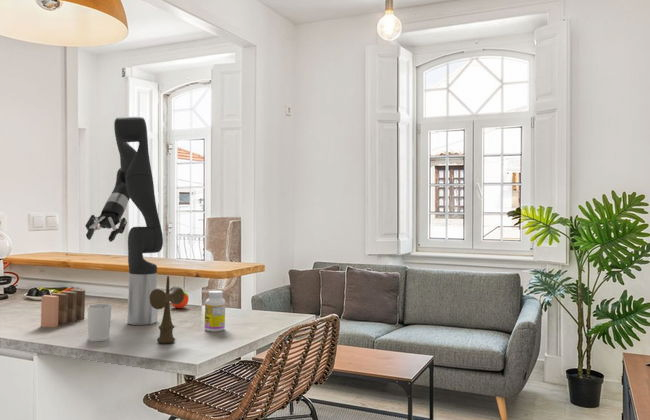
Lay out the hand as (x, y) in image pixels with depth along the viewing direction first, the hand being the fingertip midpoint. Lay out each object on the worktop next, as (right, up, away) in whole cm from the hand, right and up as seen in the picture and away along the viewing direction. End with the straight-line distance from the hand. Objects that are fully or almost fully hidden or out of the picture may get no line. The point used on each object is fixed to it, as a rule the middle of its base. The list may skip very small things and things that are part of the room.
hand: (99, 239), depth 204 cm
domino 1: (-6, -27, -25) cm, 37 cm away
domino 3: (-4, -27, -16) cm, 32 cm away
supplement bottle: (+48, -29, -22) cm, 60 cm away
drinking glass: (+16, -28, -39) cm, 50 cm away
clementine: (+27, -28, +13) cm, 41 cm away
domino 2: (-5, -27, -20) cm, 34 cm away
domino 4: (-3, -27, -12) cm, 30 cm away
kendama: (+37, -29, -40) cm, 62 cm away
